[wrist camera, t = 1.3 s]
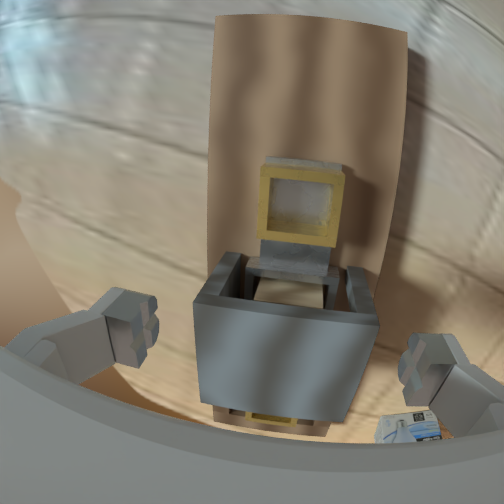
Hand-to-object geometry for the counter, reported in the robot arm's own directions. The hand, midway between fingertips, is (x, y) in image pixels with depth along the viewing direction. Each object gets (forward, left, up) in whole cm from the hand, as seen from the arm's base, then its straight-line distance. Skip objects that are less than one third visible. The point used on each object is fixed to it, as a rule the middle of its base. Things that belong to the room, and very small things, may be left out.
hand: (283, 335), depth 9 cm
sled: (0, +13, -21) cm, 24 cm away
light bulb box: (-24, +38, -25) cm, 51 cm away
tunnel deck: (0, +10, -25) cm, 27 cm away
